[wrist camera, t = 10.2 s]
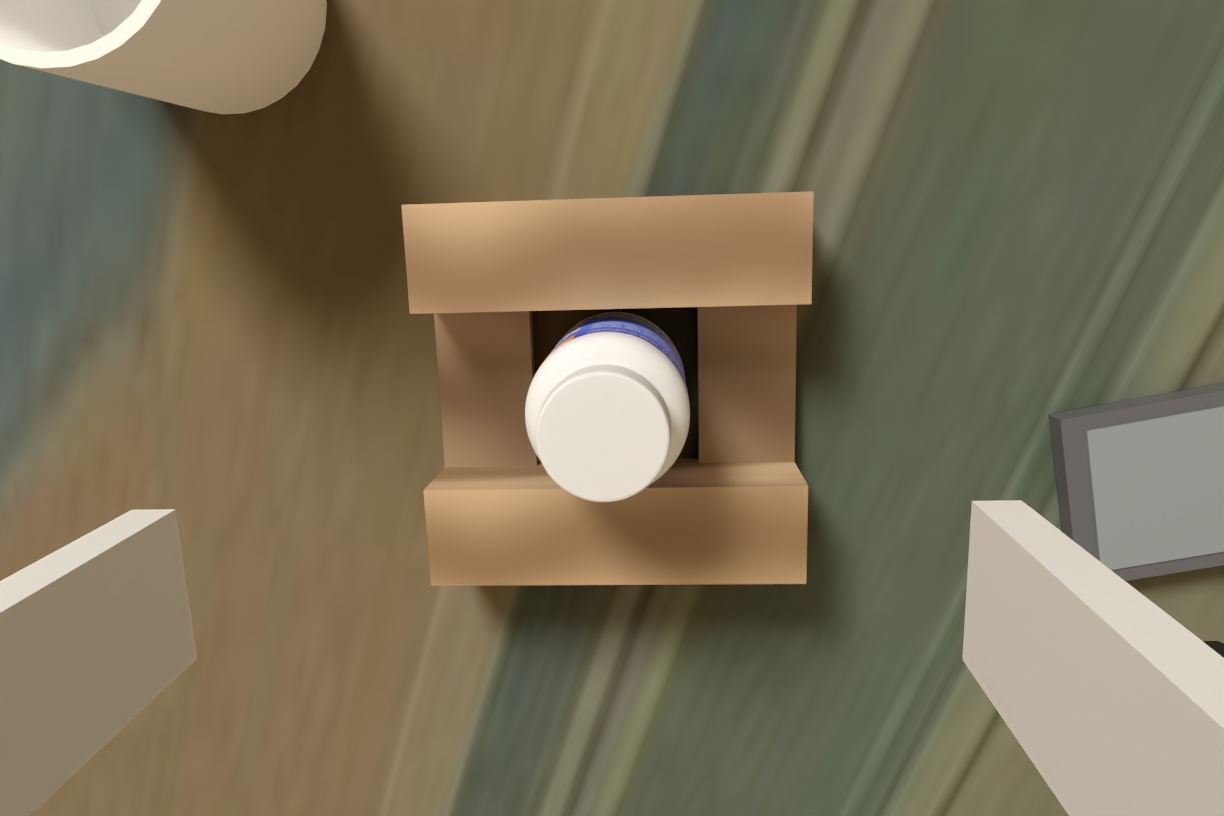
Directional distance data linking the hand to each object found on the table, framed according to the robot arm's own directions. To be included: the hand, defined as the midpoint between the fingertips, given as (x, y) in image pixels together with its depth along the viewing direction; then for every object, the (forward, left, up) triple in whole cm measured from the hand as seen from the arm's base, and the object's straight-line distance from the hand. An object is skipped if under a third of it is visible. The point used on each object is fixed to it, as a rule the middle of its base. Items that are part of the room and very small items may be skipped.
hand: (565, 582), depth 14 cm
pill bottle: (0, 0, -21) cm, 21 cm away
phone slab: (+4, +24, -21) cm, 32 cm away
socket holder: (0, 0, -21) cm, 21 cm away
